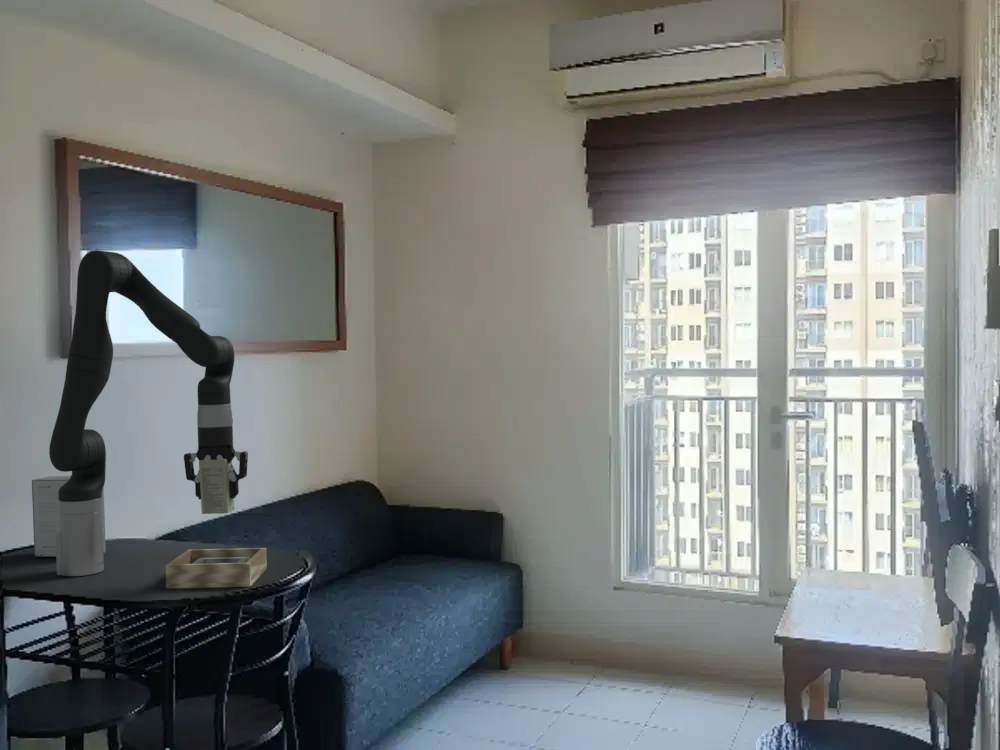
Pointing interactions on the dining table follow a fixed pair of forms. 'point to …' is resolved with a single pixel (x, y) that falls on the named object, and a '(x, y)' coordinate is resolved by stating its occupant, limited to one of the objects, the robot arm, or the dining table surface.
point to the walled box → (216, 568)
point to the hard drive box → (50, 514)
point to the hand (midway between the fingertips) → (217, 498)
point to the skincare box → (215, 487)
